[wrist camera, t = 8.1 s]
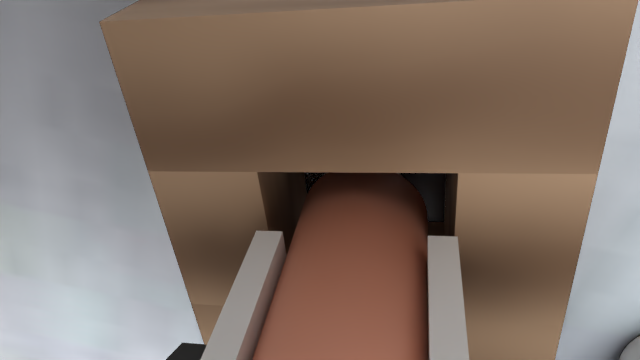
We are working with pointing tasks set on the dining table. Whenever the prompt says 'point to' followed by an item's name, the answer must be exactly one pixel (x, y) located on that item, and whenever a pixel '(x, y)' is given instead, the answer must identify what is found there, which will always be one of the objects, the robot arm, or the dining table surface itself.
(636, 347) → the cup
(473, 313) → the socket block
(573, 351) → the dining table surface
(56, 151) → the dining table surface
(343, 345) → the dowel
